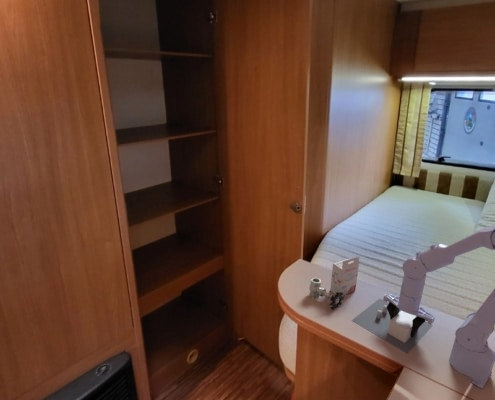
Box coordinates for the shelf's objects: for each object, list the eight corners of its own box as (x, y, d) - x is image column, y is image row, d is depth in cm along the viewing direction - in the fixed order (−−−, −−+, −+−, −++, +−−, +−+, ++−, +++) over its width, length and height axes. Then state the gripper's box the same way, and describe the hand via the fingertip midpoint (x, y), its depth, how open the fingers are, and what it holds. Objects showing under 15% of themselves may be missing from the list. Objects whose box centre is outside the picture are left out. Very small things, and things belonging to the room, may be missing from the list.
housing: (400, 320, 106) (403, 308, 105) (417, 329, 102) (420, 317, 101) (387, 332, 101) (389, 320, 99) (404, 343, 97) (407, 330, 95)
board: (432, 327, 105) (434, 318, 103) (406, 356, 93) (408, 346, 92) (379, 300, 117) (380, 292, 116) (351, 322, 106) (352, 313, 105)
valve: (304, 296, 119) (331, 313, 110) (305, 281, 117) (333, 297, 108) (315, 289, 123) (342, 305, 114) (317, 274, 121) (345, 289, 112)
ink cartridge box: (345, 284, 127) (350, 250, 122) (355, 291, 123) (360, 256, 118) (329, 290, 123) (333, 255, 118) (338, 297, 119) (343, 262, 114)
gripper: (442, 299, 94) (432, 337, 99) (393, 277, 105) (386, 312, 109) (432, 309, 90) (423, 348, 94) (382, 285, 100) (376, 321, 105)
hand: (403, 330), depth 101 cm, fingers closed on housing, 5 cm apart
